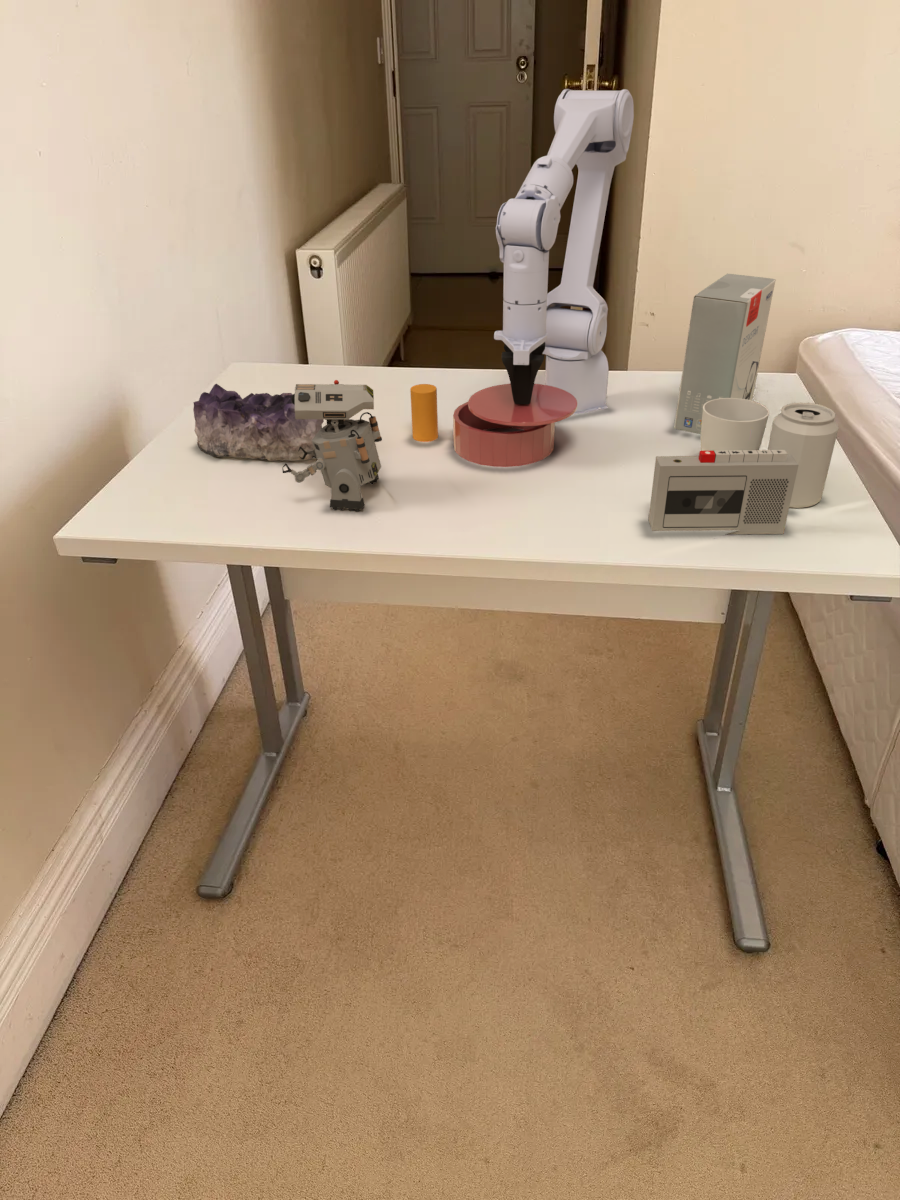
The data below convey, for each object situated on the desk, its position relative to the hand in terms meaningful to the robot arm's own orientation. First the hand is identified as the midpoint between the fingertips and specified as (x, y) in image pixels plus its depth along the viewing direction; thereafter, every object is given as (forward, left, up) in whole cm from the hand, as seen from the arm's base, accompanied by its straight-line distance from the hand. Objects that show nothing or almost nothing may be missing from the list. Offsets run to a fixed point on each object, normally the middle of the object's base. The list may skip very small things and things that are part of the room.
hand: (522, 399), depth 120 cm
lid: (0, 0, -1) cm, 1 cm away
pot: (+2, -2, -8) cm, 8 cm away
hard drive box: (-32, +2, -8) cm, 33 cm away
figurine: (+28, +2, -8) cm, 29 cm away
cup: (-20, +20, -8) cm, 29 cm away
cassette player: (-11, +30, -8) cm, 33 cm away
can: (-24, +28, -8) cm, 38 cm away
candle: (+11, -10, -8) cm, 17 cm away
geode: (+34, -17, -8) cm, 39 cm away
